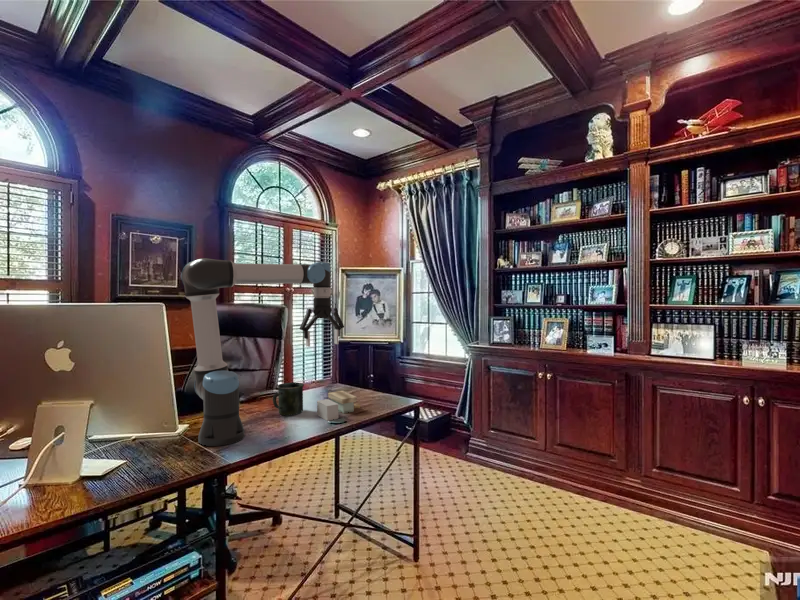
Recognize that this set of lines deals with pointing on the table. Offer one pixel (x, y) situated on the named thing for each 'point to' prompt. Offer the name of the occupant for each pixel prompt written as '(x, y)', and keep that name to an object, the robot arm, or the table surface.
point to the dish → (345, 407)
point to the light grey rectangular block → (327, 409)
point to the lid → (342, 397)
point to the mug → (289, 398)
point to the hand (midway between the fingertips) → (322, 345)
